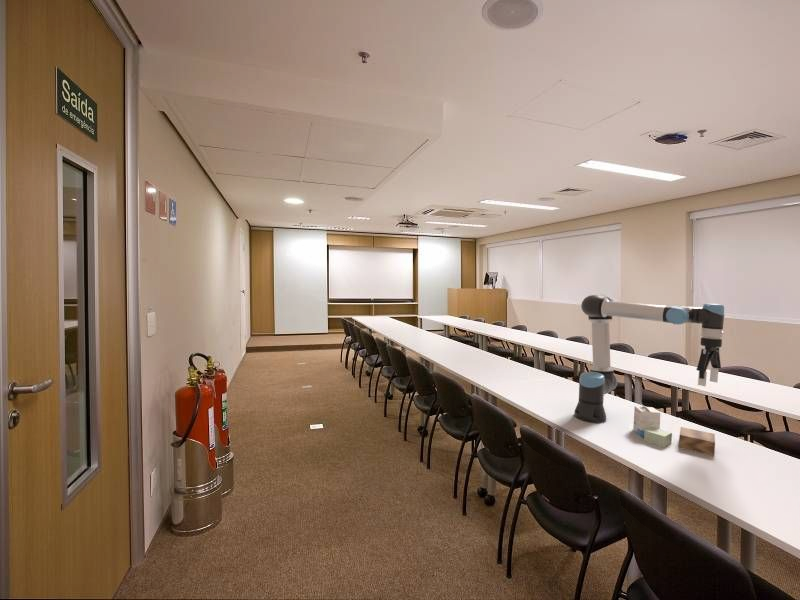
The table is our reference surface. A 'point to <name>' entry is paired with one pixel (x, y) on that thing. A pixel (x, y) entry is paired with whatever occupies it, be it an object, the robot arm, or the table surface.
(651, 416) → the ink box
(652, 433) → the sage block
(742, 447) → the table surface
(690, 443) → the walnut block
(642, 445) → the table surface
